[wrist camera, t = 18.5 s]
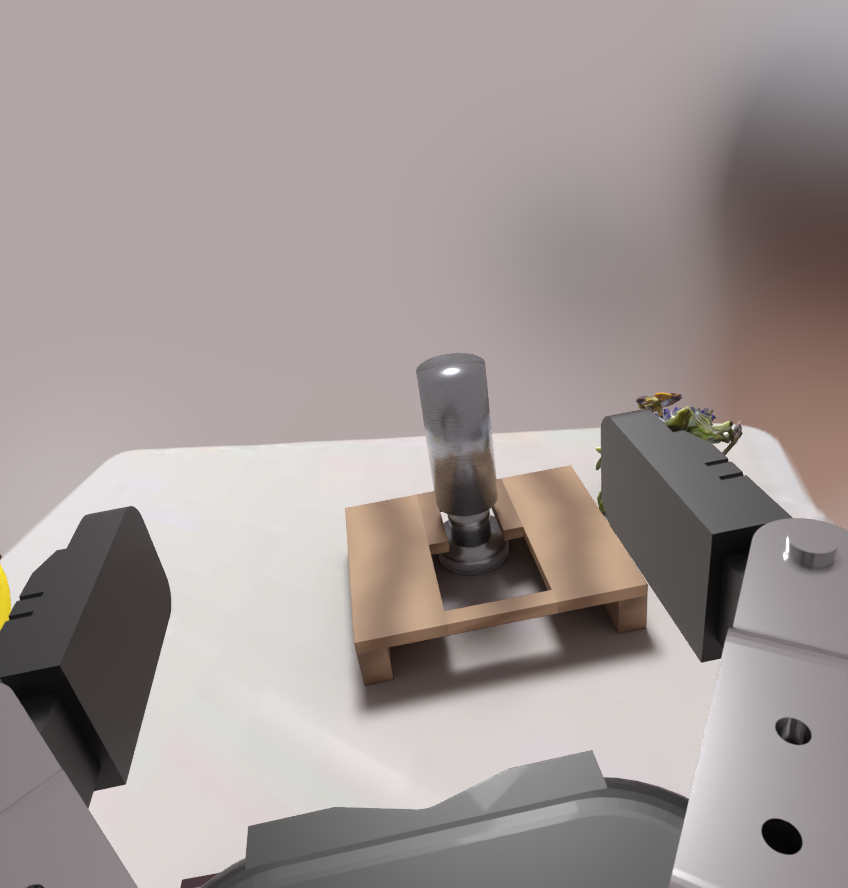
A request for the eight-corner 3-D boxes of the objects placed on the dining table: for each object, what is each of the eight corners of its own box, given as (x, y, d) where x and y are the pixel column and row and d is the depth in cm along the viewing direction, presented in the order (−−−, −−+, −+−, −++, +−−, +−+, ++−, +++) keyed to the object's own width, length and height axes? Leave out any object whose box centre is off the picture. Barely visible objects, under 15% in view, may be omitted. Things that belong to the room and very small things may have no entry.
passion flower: (653, 522, 67) (712, 410, 65) (722, 573, 57) (795, 442, 55) (557, 484, 63) (616, 365, 61) (612, 531, 53) (685, 390, 51)
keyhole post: (444, 581, 55) (414, 390, 47) (433, 537, 60) (405, 359, 52) (517, 567, 56) (500, 375, 47) (499, 524, 61) (482, 345, 52)
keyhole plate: (364, 685, 47) (354, 642, 45) (353, 545, 61) (345, 508, 59) (646, 627, 48) (647, 584, 46) (572, 502, 62) (570, 465, 60)
